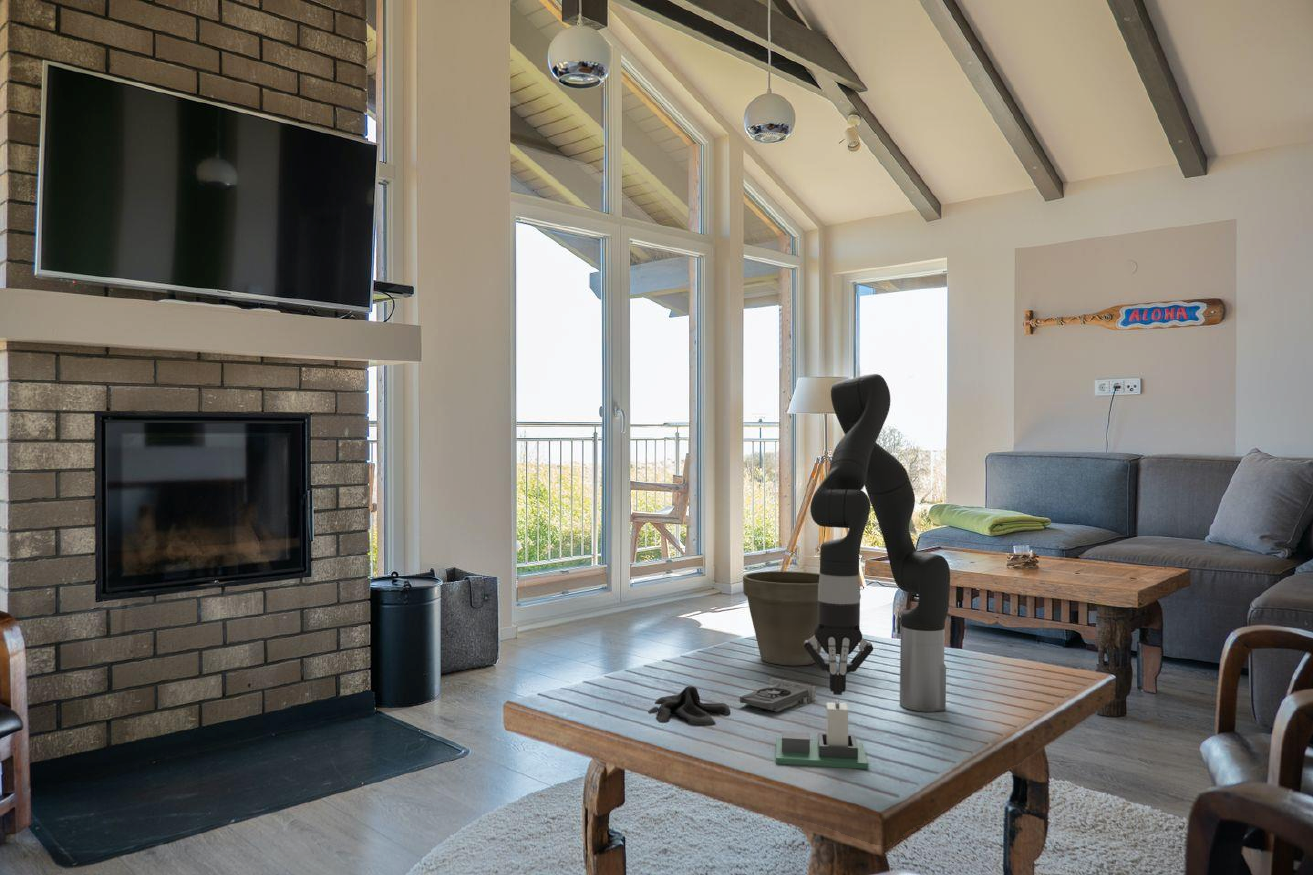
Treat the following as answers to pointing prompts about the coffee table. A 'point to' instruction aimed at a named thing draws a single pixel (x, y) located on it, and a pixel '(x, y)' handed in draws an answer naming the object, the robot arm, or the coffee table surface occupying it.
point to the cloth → (688, 708)
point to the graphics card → (779, 696)
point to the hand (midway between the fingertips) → (837, 693)
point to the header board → (819, 751)
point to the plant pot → (783, 614)
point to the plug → (837, 724)
